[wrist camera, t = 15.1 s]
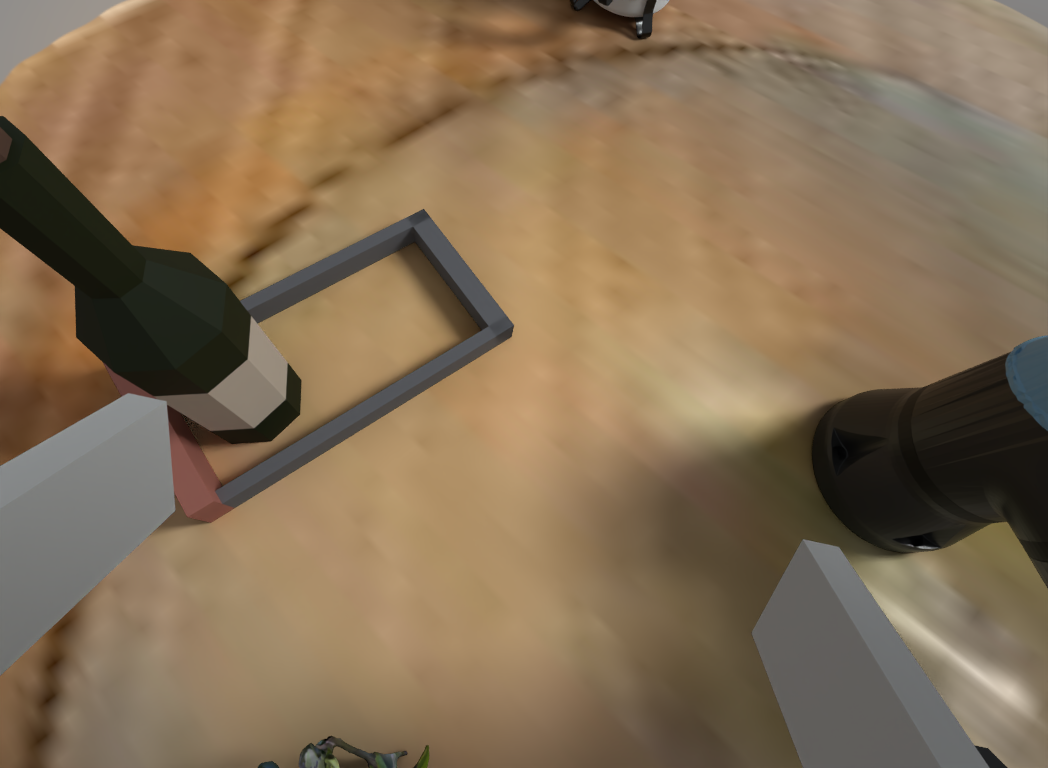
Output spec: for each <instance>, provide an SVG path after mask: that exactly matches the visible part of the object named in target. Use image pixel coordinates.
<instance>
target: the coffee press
mask: <svg viewBox="0 0 1048 768" xmlns="http://www.w3.org/2000/svg"><path fill="white" fill-rule="evenodd" d="M576 1H577V0H570V2H571V4H572V6H573V8H574V10H576V11H578V10H581V9H582V8H583V7H584V6H585V5H586V4H587V3H588V2H589V1H591V0H578V1H577V2H576ZM594 1H595V2H596V3H597V4H598V5H600V6H601V7H602V8H604V9H606V10H608V11H610V12H612V13H615V14H618V15H621V16H626V17H634V18H635V21H636V32H637V37H638V38H639V39H640V38H646V37H650V36H651V33H652V16H653V14H654V13H656V12H658V11H659V10H661V9H662V8H663V7H664V6H665V5H666V4H667V3H668V1H669V0H594Z"/></svg>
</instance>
